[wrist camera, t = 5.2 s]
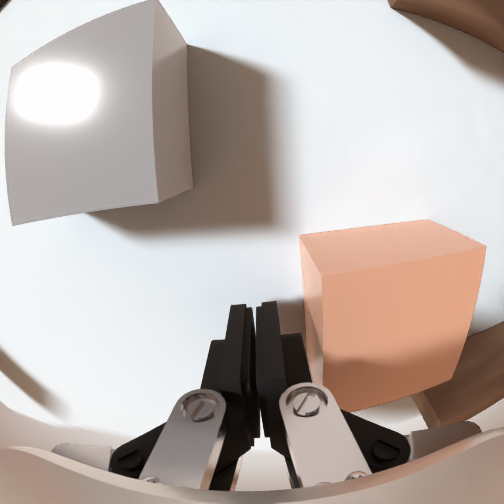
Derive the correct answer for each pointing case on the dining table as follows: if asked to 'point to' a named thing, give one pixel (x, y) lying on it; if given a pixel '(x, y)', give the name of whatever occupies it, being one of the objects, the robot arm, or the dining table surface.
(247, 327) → the robot arm
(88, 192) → the grey square block
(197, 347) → the dining table surface
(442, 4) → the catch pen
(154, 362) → the dining table surface
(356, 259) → the peach foam cube
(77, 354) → the dining table surface
